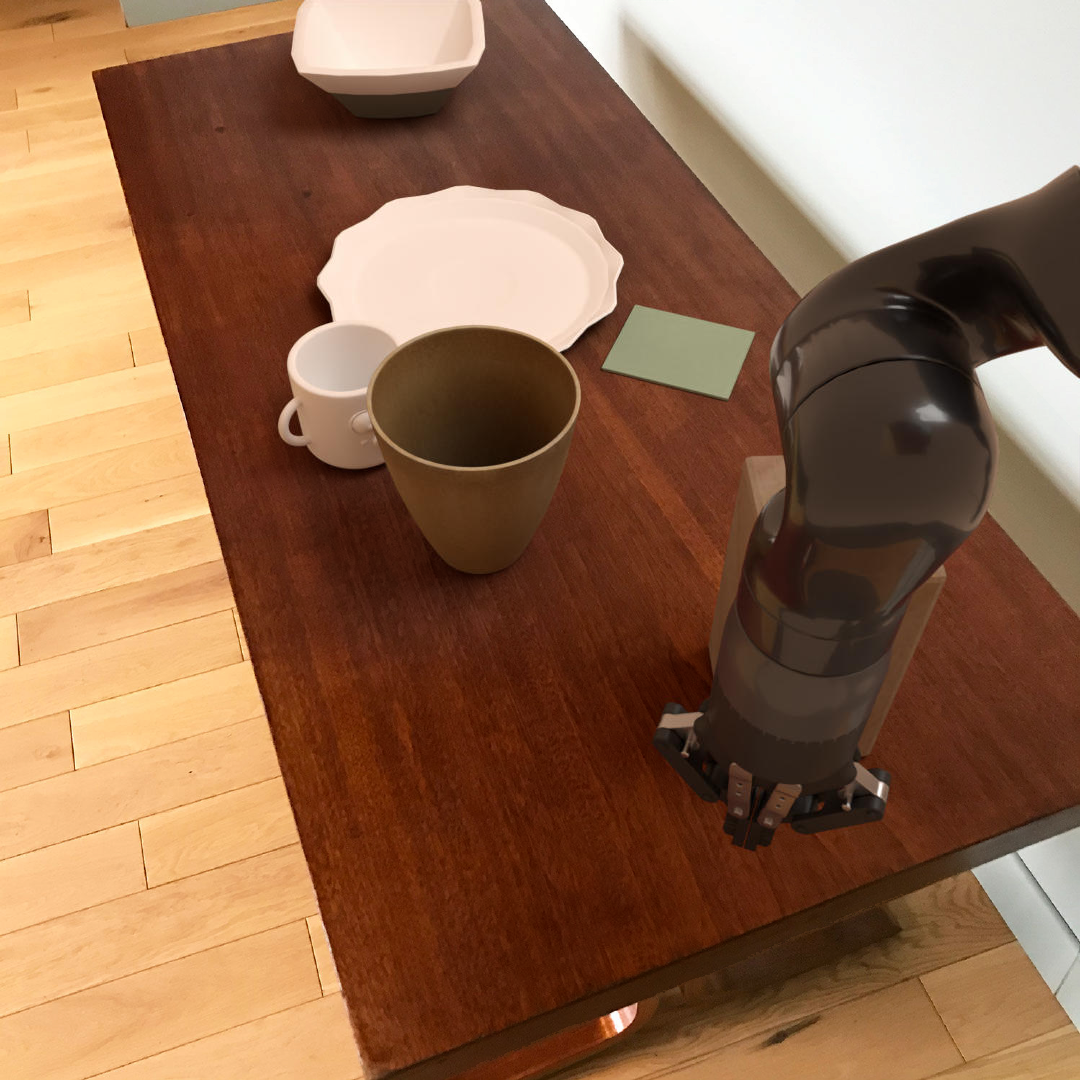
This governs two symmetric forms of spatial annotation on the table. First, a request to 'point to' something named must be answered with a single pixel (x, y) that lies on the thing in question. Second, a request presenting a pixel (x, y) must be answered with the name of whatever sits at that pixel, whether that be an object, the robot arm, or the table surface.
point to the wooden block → (753, 493)
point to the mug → (336, 391)
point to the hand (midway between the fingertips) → (747, 834)
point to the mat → (679, 352)
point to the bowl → (388, 52)
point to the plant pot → (475, 437)
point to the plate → (474, 266)
